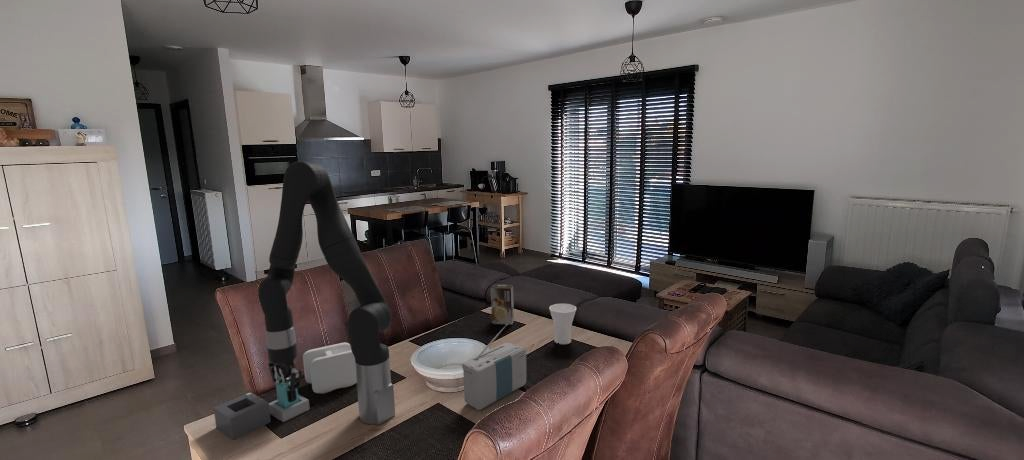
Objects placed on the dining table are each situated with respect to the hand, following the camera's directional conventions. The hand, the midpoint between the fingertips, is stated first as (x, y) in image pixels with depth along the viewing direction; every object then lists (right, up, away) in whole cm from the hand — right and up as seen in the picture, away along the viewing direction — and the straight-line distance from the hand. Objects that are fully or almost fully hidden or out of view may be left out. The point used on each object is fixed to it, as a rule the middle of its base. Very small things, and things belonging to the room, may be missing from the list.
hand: (287, 398), depth 139 cm
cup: (+85, +5, +48) cm, 97 cm away
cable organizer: (+7, -1, +17) cm, 18 cm away
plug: (0, -3, +1) cm, 3 cm away
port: (-10, -5, -5) cm, 12 cm away
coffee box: (+61, +9, +69) cm, 93 cm away
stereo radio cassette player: (+60, -2, +8) cm, 60 cm away
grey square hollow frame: (0, -4, +1) cm, 4 cm away
